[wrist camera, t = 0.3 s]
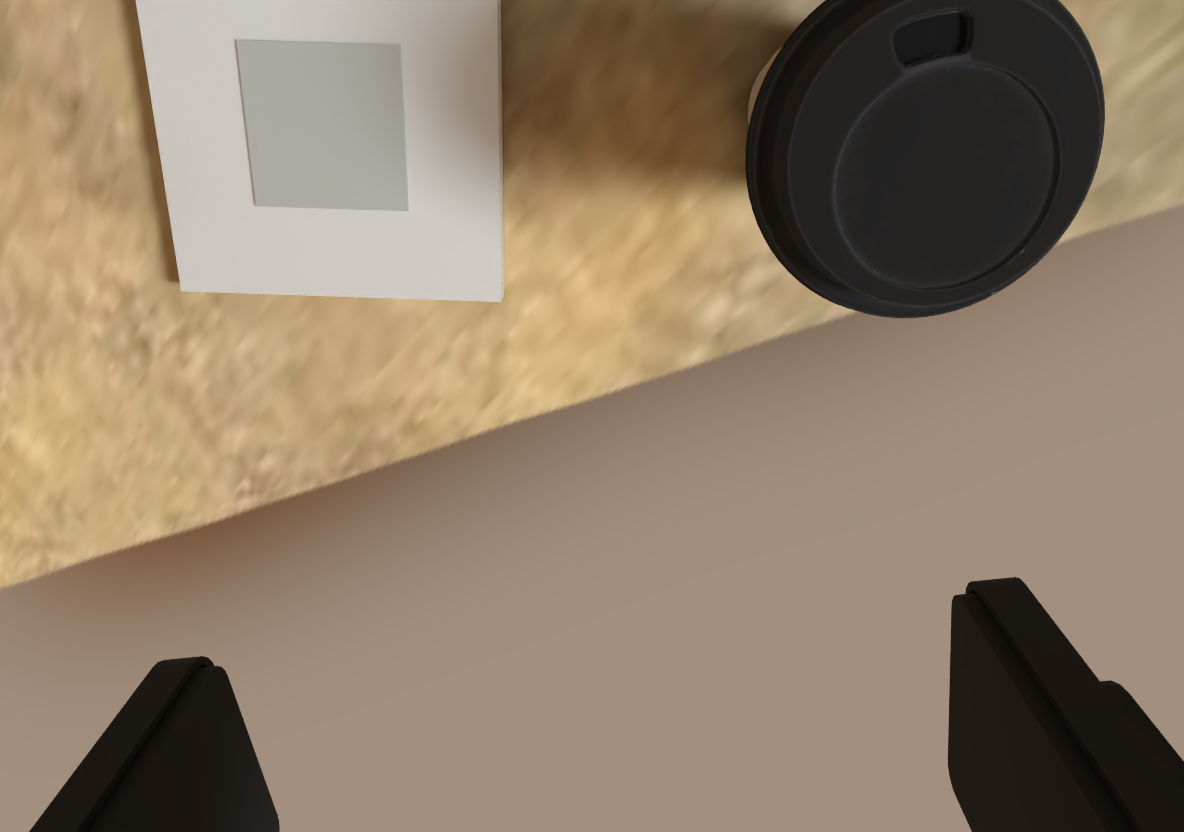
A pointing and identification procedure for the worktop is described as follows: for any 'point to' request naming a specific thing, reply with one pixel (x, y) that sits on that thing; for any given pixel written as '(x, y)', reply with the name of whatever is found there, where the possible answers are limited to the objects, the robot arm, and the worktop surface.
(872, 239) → the coffee cup
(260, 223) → the plate
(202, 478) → the worktop surface
